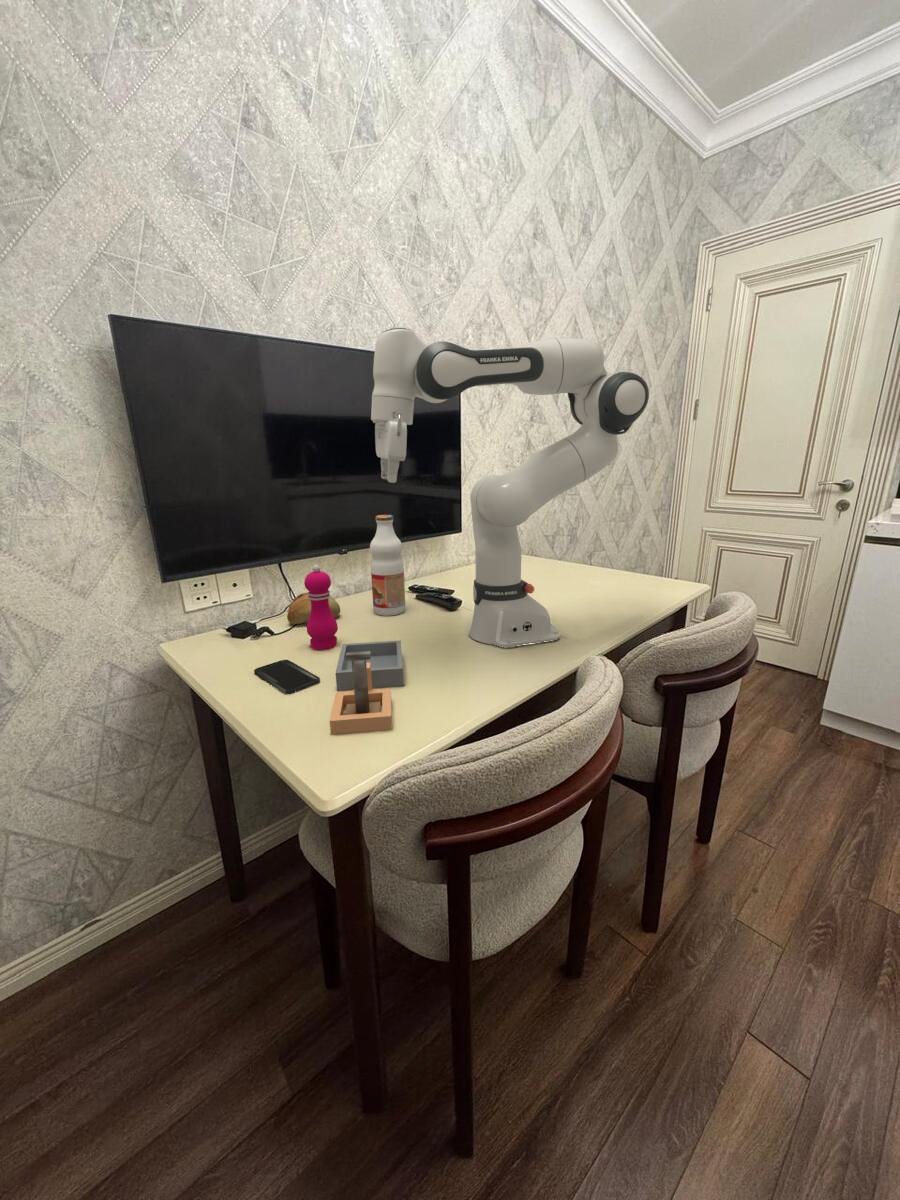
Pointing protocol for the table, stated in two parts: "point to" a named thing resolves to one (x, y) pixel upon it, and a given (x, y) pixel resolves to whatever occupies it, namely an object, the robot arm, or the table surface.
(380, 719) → the ring
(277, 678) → the phone
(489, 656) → the table surface
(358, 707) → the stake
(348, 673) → the tray
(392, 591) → the fruit juice
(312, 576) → the pepper mill
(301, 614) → the bread roll
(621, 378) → the robot arm
